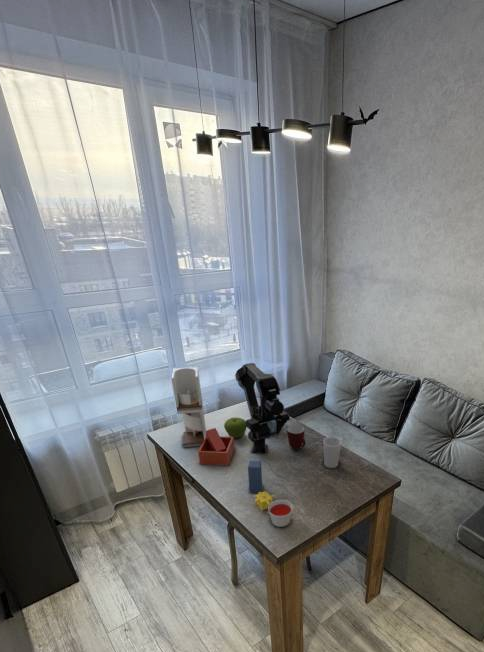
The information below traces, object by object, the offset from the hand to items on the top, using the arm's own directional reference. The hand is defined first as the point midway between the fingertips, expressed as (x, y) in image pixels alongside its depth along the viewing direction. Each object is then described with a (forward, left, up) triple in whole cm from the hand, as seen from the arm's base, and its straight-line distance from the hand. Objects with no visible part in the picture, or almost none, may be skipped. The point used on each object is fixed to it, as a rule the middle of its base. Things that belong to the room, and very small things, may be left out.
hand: (268, 437), depth 173 cm
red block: (+1, -21, -8) cm, 23 cm away
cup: (0, +28, -13) cm, 31 cm away
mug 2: (-12, +12, -13) cm, 21 cm away
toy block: (+30, +2, -13) cm, 33 cm away
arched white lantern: (-16, -38, -13) cm, 43 cm away
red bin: (-3, -24, -13) cm, 27 cm away
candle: (+38, +9, -13) cm, 41 cm away
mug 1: (-27, -3, -13) cm, 30 cm away
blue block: (+20, -3, -13) cm, 24 cm away
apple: (-21, -19, -13) cm, 31 cm away
